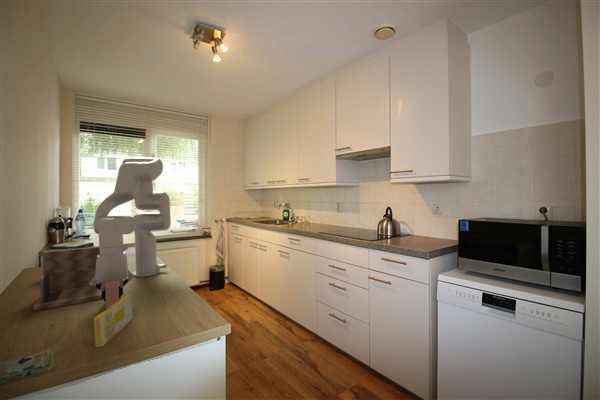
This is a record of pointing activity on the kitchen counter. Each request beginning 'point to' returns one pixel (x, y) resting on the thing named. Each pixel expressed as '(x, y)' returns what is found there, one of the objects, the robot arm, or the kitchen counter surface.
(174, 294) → the kitchen counter surface
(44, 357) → the kitchen counter surface
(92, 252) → the shelf
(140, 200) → the robot arm
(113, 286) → the book
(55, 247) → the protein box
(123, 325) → the candy box
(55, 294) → the bookend
